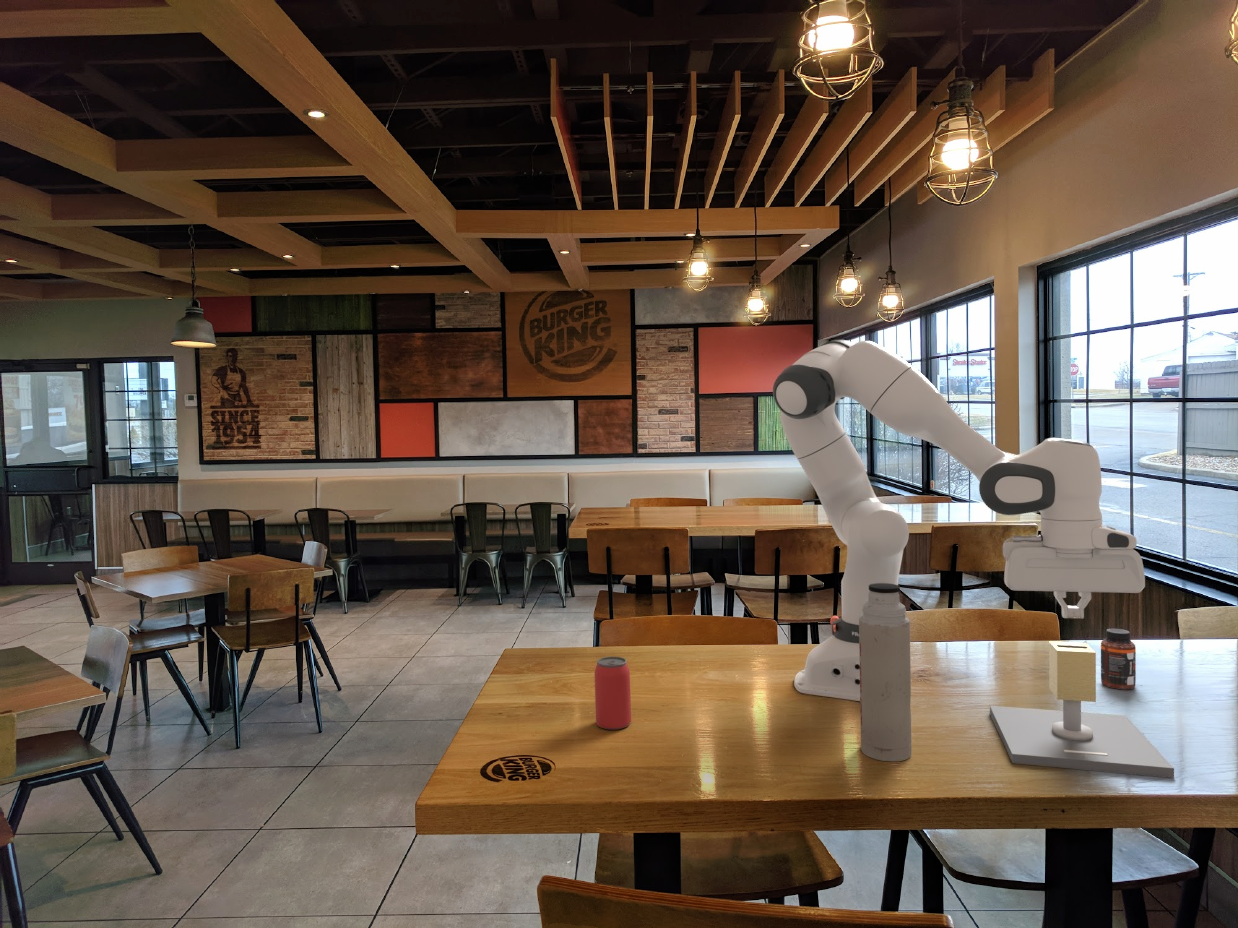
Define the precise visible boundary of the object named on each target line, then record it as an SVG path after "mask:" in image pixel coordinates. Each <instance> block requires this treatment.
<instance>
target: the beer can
mask: <svg viewBox="0 0 1238 928" xmlns="http://www.w3.org/2000/svg"><path fill="white" fill-rule="evenodd" d="M594 698H595V699H594V701H595V703H594V704H595V705H594V707H595V723H596V725H597V726H598V727H600V728H602V729H603V730H611V731H615V730H617V731H618V730H620V729H621V730H622V729H625V728H627V727H628V726H629V725H630V724H631V722H632V707H631V706H632V704H631V703H632V702H631V701H632V699H631V698H632V697H631V673H630V668H629V665H628V660H627V659H626V658H624V657H621V656H605V657H601V658H599V659H598V660H597V661H596V666H595V669H594Z"/></svg>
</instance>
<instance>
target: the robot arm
mask: <svg viewBox="0 0 1238 928" xmlns="http://www.w3.org/2000/svg"><path fill="white" fill-rule="evenodd" d="M772 395H773V400H774V402H775V404H776V406H777V408H778V409H779V410H780V411H781V412H780V416H779V418H780V419H779V420H780V424H781V426H782V429H783V431H784V434H785V437H786V439H787V441H788V444H789V446H790V448H791V450H792V452H793V454H794V456H795V458H796V459H797V462H798V463H799V464H800V466H801V468H802V469H803V470H802V471H804V473H805V475H806V476H807V479H808V481H809V482H810V484H811V486H812V487H813V489H814V491H815V493H816V495H817V496H818V499H819V501H820V503H821V506H822V508H823V510H824V512H825V515H826V517H827V518H828V521H829V523H830V525H831V526H832V528H833V530H834V533H835V534H836V537H838V539H839V540H840V541H841V543H843V544H844V545H845V546H846V549H847V551H846V553H847V554H846V560H845V561H846V562H845V566H844V567H845V568H844V574H843V577H842V579H841V582H840V584H841V585H840V587H841V589H840V590H841V591H840V593H841V617H840V616H837V615H832V617H831V618H830V621H829V623H830V625H831V634H832V635H831V636H830V637H828V638H827V639H825V640H823V641H822V642H821V643H819V644H818V645H817V646H815V647H813V648H812V649H811V650H810V652H809V653H808V655H807V657H806V660H805V666H804V669H802V670H800V671H798V672H797V673H796V675H795V676H794V680H793V681H794V687H795V688H794V689H796V690H797V692H799V693H801V694H807V695H814V696H822V697H829V698H835V699H843V700H850V701H857V702H860V654H859V617H860V616H862V615H863V611H862V609H863V604H864V603H866V602H868V594H869V585H870V584H875V583H889V584H895V585H898V586H899V578H900V577H899V576H900V572H901V566H902V561H903V554H904V549H905V547H906V546H907V544H908V541H909V538H910V537H909V536H910V530H909V526H908V523H907V521H906V520H905V518H904V516H903V515H902V514H901V513H900V512H899V511H898V510H897V509H896V507H895V508H894V507H893V506H892V505H890V504H886V503H883V502H881V501H880V500H879V498H878V497H877V495H876V493H875V491H874V488H873V486H872V484H871V482H870V479H869V476H868V474H867V469H866V466H865V463H864V462H863V460H862V458H861V456H860V455H859V453H858V452H857V450H856V447H855V446H854V444H853V443H852V441H851V439H850V437H849V435H848V433H847V432H846V430H845V428H844V427H843V425H842V424H841V422H840V421H839V419H838V417H837V415H836V409H835V408H836V404H837V402H839V401H840V400H844V399H845V398H849V399H852V400H854V402H855V401H856V402H857V403H858V404H859V405H861V406H862V407H863V408H864V409H866V410H867V412H869V413H870V414H871V415H872V416H873V417H874V418H875V419H877V420H879V421H880V422H882V423H883V424H885V425H886V426H887V427H889V428H891V429H893V430H894V431H896V432H898V433H900V434H902V435H905V436H908V437H913V438H917V439H920V440H923V441H926V442H929V443H930V444H933V445H935V446H937V448H938V447H939V448H940V449H941V450H943V451H944V452H945V453H947V454H948V455H949V456H951V458H953V459H954V460H955V461H957V462H958V463H959V464H960V465H962V466H963V467H964V468H965V469H966V470H967V471H969V472H970V473H972V474H973V475H974V476H975V478H976V479H977V480H978V481H979V485H978V492H979V497H980V498H981V500H982V501H983V503H984V504H985V506H986V507H987V508H988V509H990V510H991V511H993V512H994V513H997V514H999V515H1003V516H1009V517H1010V516H1011V517H1012V516H1013V517H1015V516H1021V515H1024V514H1029V513H1030V514H1031V513H1035V512H1039V513H1040V534H1034V535H1032V534H1031V535H1029V534H1028V535H1019V534H1018V535H1017V534H1015V535H1012V536H1011V537H1009V538H1007V539H1005V540H1004V542H1003V543H1002V556H1003V558H1004V559H1005V565H1004V575H1003V576H1004V577H1003V581H1004V584H1005V585H1006V587H1008V589H1010V590H1011V591H1018V592H1019V591H1020V592H1021V591H1024V592H1026V591H1027V592H1033V591H1034V592H1053V596H1054V597H1055V599H1056V600H1057V602H1058V604H1059V606H1061V617H1062V618H1064V619H1084V618H1085V608H1086V607H1087V606H1088V604H1089V602H1090V601H1092V593H1118V594H1121V593H1122V594H1125V593H1128V594H1129V593H1130V594H1131V593H1132V594H1139V593H1141V592H1142V591H1143V589H1144V588H1146V576H1145V570H1144V569H1145V567H1144V564H1143V558H1142V557H1141V555H1140V553H1139V552H1138V551H1136V550H1135V548H1136V547H1137V544H1138V539H1137V538H1136V536H1134V535H1133V534H1131V533H1129V532H1126V531H1124V530H1121V529H1116V528H1114V527H1112V526H1108V525H1107V526H1105V525H1103V515H1102V512H1101V509H1100V498H1101V495H1102V492H1103V491H1102V488H1103V486H1102V471H1101V470H1102V469H1101V463H1100V462H1101V461H1100V458H1099V453H1098V451H1097V450H1096V448H1094V446H1093V445H1091V444H1090V443H1088V442H1085V441H1082V440H1075V439H1068V438H1061V437H1060V438H1059V437H1049V438H1045V439H1044V440H1043V441H1042V442H1041V443H1039V444H1038V445H1036V446H1034V447H1032V448H1030V449H1027V450H1026V451H1023V452H1021V453H1019V454H1015V453H1010V452H1007V451H1004V450H1002V449H1001V448H999V447H997V446H996V445H994V444H993V443H992V442H991V441H989V440H988V439H987V438H986V437H984V436H983V435H981V433H979V432H978V431H977V430H976V429H974V428H973V427H972V426H970V425H969V424H967V422H965V421H964V420H963V419H962V418H961V417H960V416H959V415H958V414H957V413H956V411H955V410H954V409H953V408H952V407H951V406H950V404H949V403H948V401H947V400H946V399H945V397H944V396H943V394H942V393H941V392H940V391H939V390H938V389H937V387H936V386H935V385H934V384H933V383H932V382H931V381H930V380H929V379H928V378H927V377H926V376H925V375H924V374H922V372H920V371H919V370H918V369H917V368H915V367H914V366H913V365H912V364H910V363H909V362H908V361H906V360H905V359H904V358H902V357H901V356H899V355H897V354H896V353H894V352H893V351H891V350H889V349H888V348H886V347H884V346H882V345H880V344H878V343H876V342H874V341H872V340H862V341H861V340H860V341H858V342H856V343H854V342H852V341H849V340H847V339H846V340H845V339H834V340H831V341H827V342H825V343H823V344H821V345H820V346H818V347H816V348H814V349H812V350H810V351H808V352H806V353H805V354H803V355H802V356H801V357H800V358H799V359H797V360H796V361H795V362H794V363H792V364H791V365H789V366H787V367H786V368H784V370H782V371H781V372H780V373H779V374H778V376H777V378H776V379H775V380H774V383H773V386H772ZM1067 592H1072V593H1073V592H1078V597H1081V598H1080V600H1079V601H1078V603H1076V605H1067V603H1066V602H1065V600H1064V598H1065V599H1066V598H1067Z"/></svg>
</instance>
